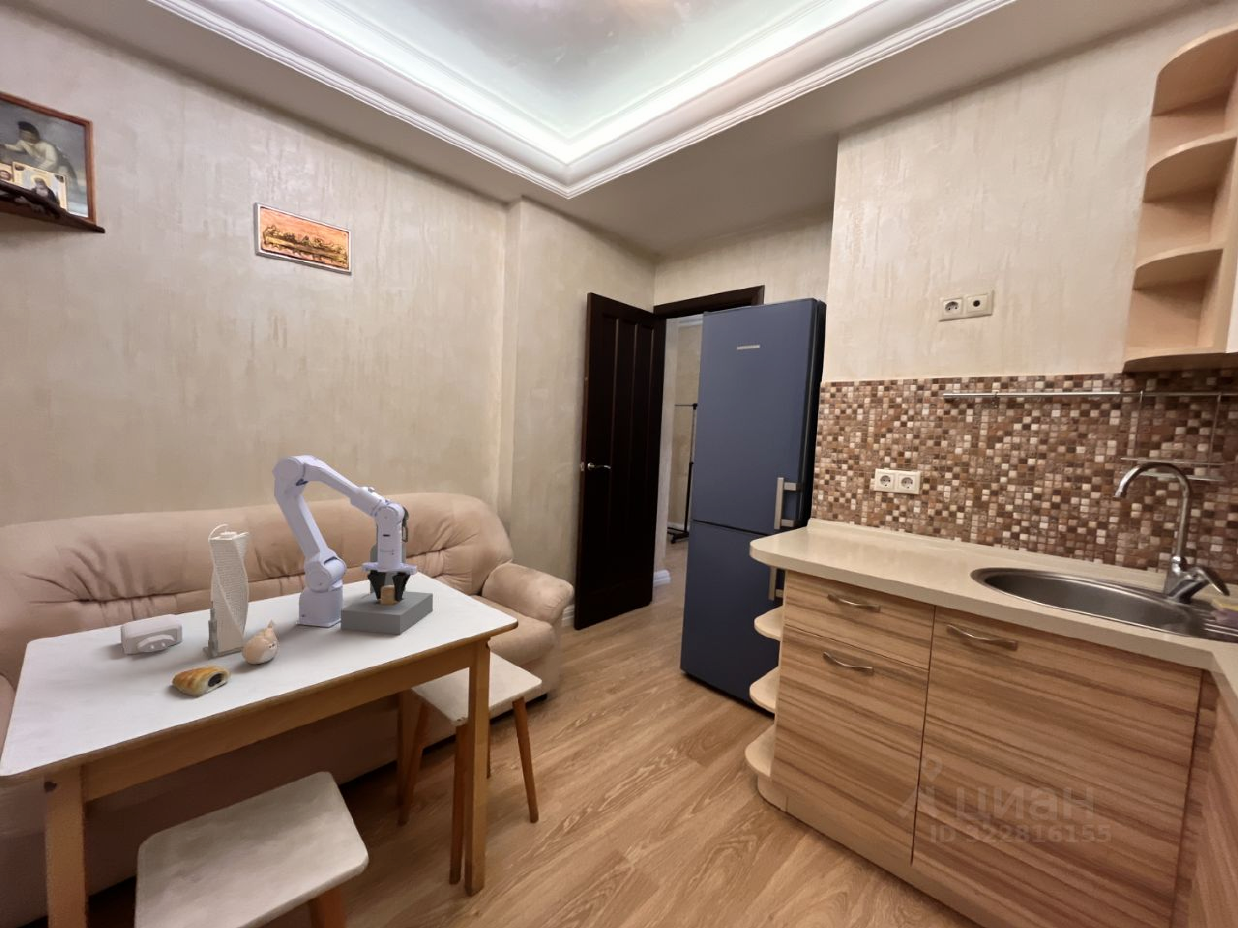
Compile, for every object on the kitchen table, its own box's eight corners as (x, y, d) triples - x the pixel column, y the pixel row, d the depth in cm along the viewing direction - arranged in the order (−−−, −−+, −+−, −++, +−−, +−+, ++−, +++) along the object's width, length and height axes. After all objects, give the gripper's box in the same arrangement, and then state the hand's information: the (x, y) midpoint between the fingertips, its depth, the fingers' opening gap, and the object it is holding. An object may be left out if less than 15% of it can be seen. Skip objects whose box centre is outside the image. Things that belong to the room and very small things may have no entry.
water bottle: (401, 587, 151) (402, 501, 149) (411, 596, 144) (412, 505, 142) (366, 593, 145) (367, 503, 143) (374, 602, 137) (375, 508, 135)
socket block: (340, 628, 119) (340, 609, 119) (379, 606, 135) (379, 589, 135) (400, 634, 117) (400, 615, 117) (432, 610, 133) (432, 593, 133)
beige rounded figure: (284, 660, 103) (284, 624, 102) (249, 671, 97) (248, 634, 97) (272, 651, 106) (271, 616, 106) (237, 662, 101) (236, 626, 101)
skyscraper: (201, 647, 107) (199, 525, 105) (246, 636, 113) (245, 521, 111) (208, 660, 101) (206, 532, 100) (255, 648, 108) (254, 527, 106)
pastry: (160, 691, 90) (159, 672, 89) (198, 674, 96) (197, 656, 96) (199, 699, 88) (199, 679, 88) (235, 680, 94) (235, 662, 94)
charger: (128, 666, 98) (120, 643, 108) (187, 651, 105) (175, 631, 115) (127, 644, 98) (120, 623, 107) (187, 631, 105) (175, 612, 114)
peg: (377, 622, 125) (377, 589, 124) (386, 616, 128) (387, 584, 128) (391, 623, 124) (391, 590, 123) (400, 618, 128) (400, 585, 127)
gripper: (354, 550, 122) (354, 601, 123) (407, 554, 120) (406, 606, 121) (371, 544, 129) (371, 592, 130) (421, 548, 127) (421, 597, 128)
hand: (389, 598), depth 126 cm, fingers open, 5 cm apart
